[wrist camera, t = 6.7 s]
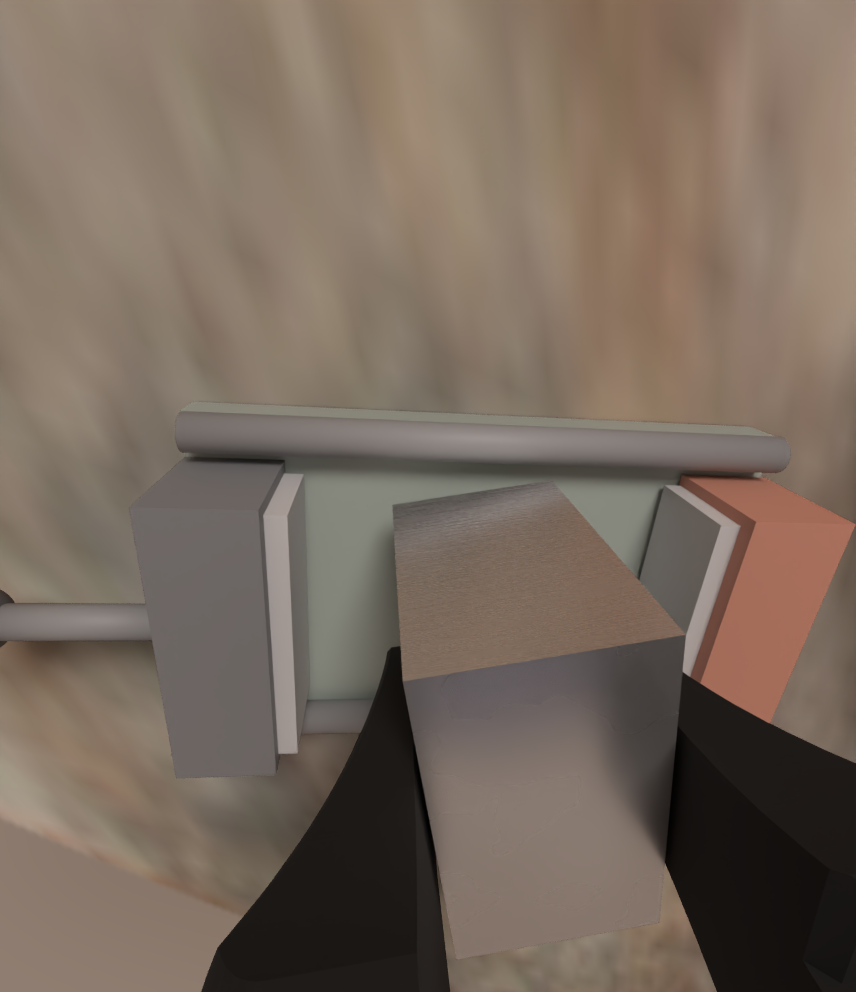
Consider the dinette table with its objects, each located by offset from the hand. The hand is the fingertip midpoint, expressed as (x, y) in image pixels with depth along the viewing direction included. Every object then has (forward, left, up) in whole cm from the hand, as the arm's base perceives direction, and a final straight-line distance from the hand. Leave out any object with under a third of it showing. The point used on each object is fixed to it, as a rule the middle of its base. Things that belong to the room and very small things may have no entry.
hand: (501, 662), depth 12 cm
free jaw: (-6, 0, -3) cm, 7 cm away
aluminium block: (0, 0, -2) cm, 2 cm away
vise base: (+3, 0, -4) cm, 5 cm away
